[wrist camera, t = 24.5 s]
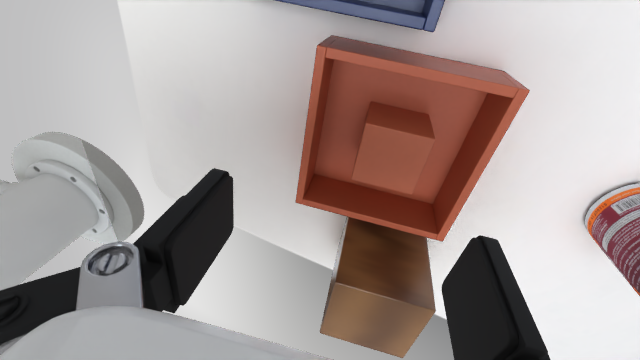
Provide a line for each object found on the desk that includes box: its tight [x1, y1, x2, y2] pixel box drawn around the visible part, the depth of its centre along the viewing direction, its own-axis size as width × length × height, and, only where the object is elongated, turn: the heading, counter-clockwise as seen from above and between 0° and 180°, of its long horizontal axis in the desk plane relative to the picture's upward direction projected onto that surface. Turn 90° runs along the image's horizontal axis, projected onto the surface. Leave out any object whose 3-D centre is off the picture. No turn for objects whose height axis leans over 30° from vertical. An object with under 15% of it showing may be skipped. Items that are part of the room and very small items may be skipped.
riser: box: [320, 216, 436, 358], centre depth 26 cm, size 7×7×10 cm
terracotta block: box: [351, 101, 436, 195], centre depth 21 cm, size 4×4×4 cm
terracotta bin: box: [296, 35, 530, 241], centre depth 22 cm, size 12×12×5 cm
